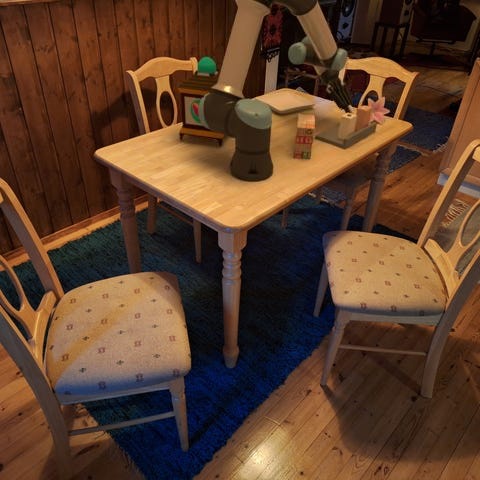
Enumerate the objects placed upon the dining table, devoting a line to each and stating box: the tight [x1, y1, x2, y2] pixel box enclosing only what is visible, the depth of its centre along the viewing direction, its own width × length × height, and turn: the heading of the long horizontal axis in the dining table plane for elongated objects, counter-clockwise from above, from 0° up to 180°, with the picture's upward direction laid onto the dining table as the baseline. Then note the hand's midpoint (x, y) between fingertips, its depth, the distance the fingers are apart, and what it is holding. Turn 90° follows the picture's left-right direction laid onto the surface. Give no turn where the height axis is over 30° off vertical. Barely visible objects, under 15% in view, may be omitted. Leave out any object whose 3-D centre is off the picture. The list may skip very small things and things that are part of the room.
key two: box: [354, 105, 372, 131], centre depth 170 cm, size 5×4×9 cm
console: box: [314, 121, 378, 150], centre depth 171 cm, size 24×14×4 cm, turn 137°
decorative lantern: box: [177, 56, 226, 147], centre depth 159 cm, size 20×20×30 cm
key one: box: [338, 112, 357, 140], centre depth 163 cm, size 5×4×9 cm
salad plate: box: [254, 91, 316, 115], centre depth 197 cm, size 21×21×3 cm
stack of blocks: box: [293, 113, 316, 160], centre depth 159 cm, size 21×6×12 cm, turn 171°
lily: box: [367, 96, 391, 126], centre depth 184 cm, size 12×12×10 cm
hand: (354, 120), depth 173 cm, fingers closed
